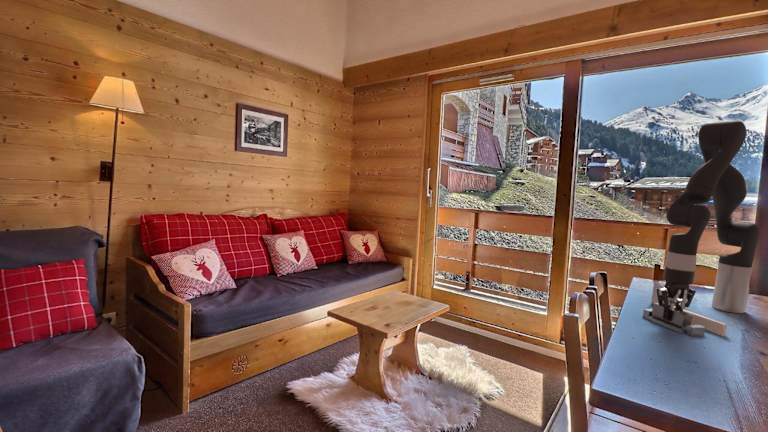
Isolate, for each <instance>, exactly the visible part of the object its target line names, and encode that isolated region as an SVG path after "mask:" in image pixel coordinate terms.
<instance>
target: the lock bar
mask: <svg viewBox="0 0 768 432" xmlns="http://www.w3.org/2000/svg"><path fill="white" fill-rule="evenodd" d="M652 309H653V310H652V314H651V317H652V318H655V319H657V320H660V321H662V322H665V323H667V324H670V325H673V326H675V327H678V328H680V329H683V330H684V332H685V331H686V325H692V324H691V321H692V317H693V315H691V314H688V313H686V312H683V311H681V310H678V309H676V308H674V307H673V309H672V310H673V312H672V319H671V321H667V320H664V319H663V312H664V307H662V306H660V305H659V303H654V305H653V304H652Z"/></svg>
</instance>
